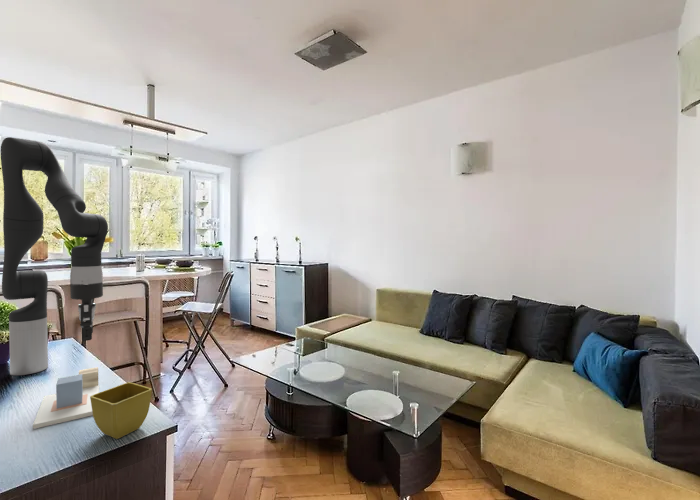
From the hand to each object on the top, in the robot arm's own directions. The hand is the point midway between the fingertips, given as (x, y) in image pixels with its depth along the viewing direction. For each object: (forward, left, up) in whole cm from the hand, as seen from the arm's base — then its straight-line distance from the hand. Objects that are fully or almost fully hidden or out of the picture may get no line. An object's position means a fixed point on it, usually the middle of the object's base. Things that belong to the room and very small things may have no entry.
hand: (87, 336), depth 100 cm
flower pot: (+34, +7, -15) cm, 38 cm away
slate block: (+12, -3, -14) cm, 19 cm away
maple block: (0, 0, -15) cm, 15 cm away
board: (+12, -3, -15) cm, 19 cm away
